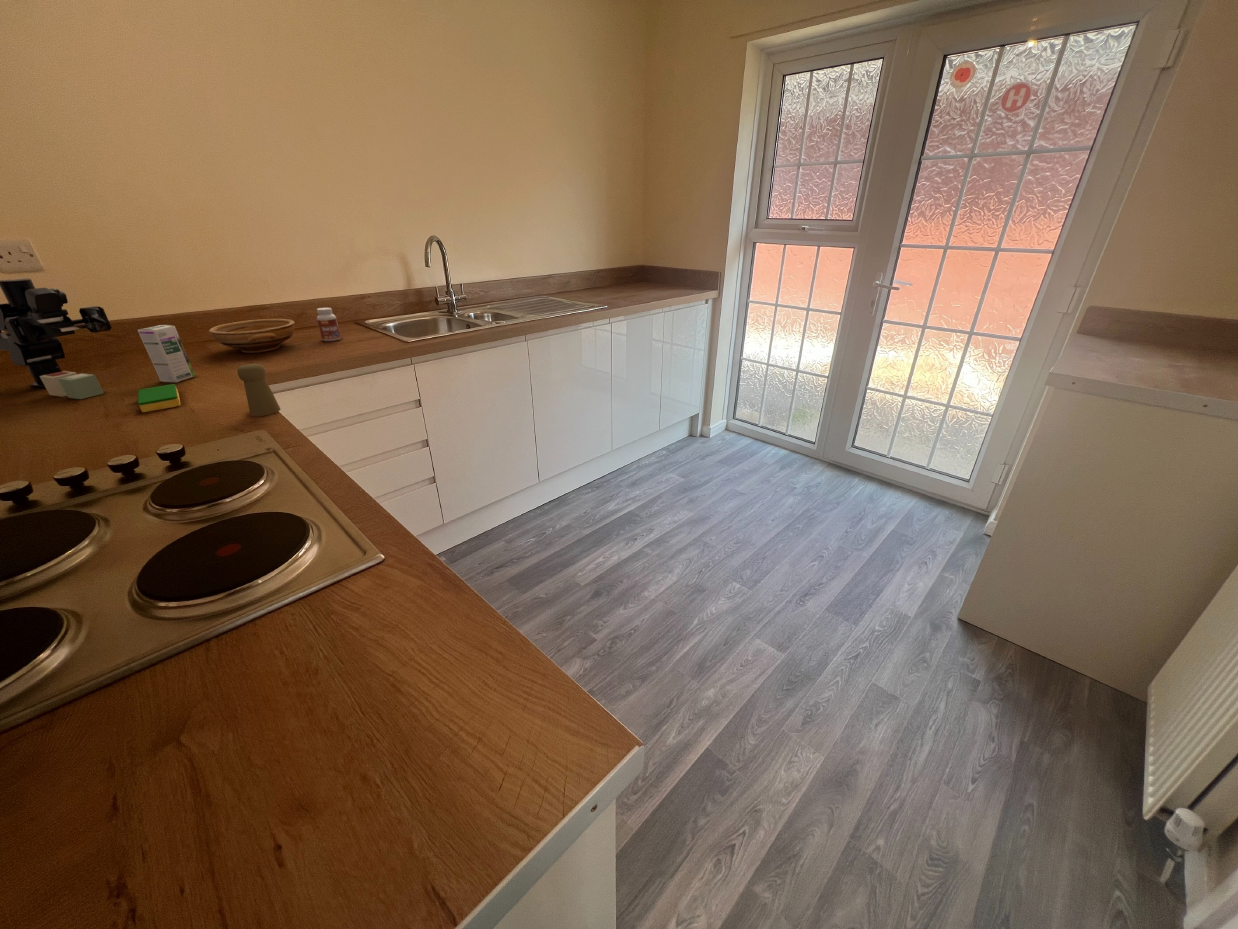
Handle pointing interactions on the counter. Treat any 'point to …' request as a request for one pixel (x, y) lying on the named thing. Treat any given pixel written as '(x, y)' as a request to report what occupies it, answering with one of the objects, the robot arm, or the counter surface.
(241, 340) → the wooden bowl
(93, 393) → the sage letter block
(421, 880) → the counter surface
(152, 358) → the syrup box
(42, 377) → the cream letter block
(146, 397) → the dish sponge
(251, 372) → the sage salt shaker
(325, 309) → the pill bottle
